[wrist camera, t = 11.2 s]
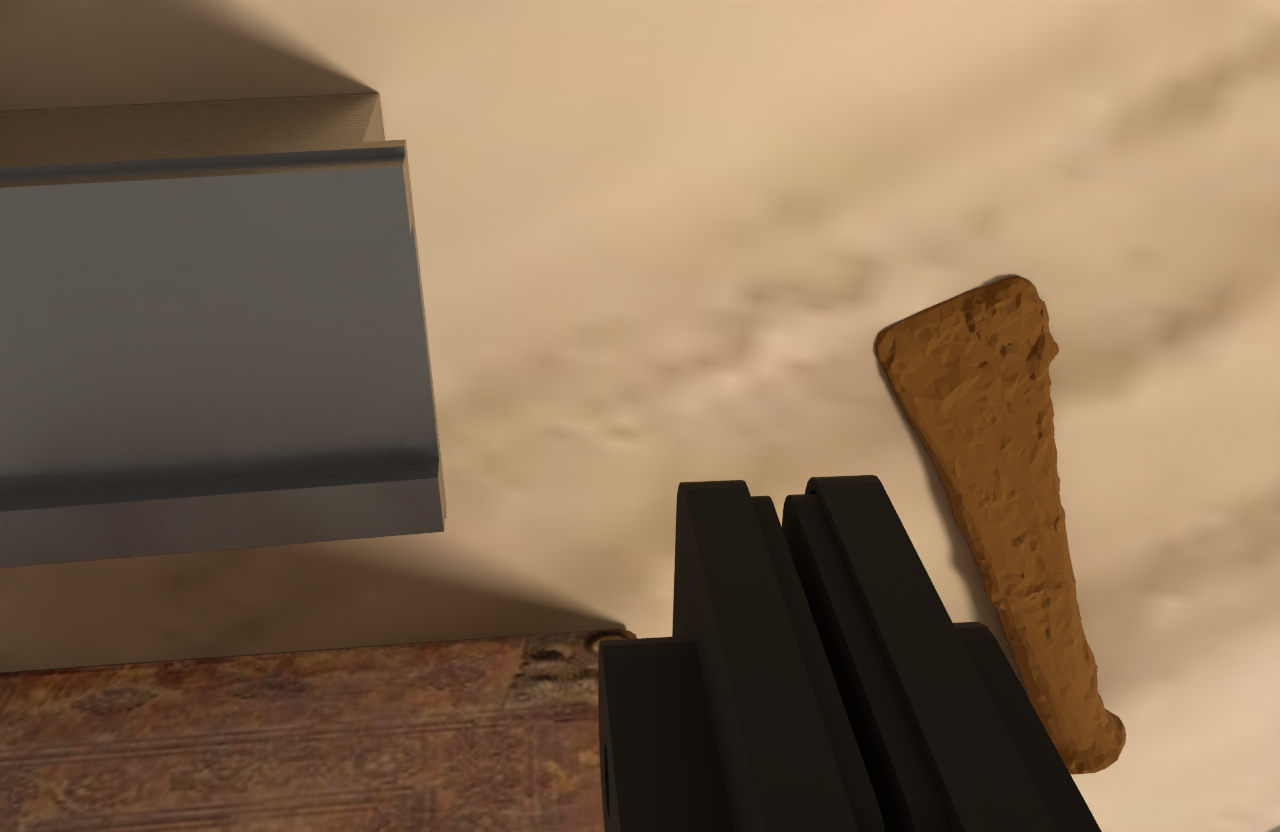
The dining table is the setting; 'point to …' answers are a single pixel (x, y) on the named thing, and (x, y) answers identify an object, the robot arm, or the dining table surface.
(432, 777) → the book
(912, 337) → the primitive tool
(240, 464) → the grey block holder
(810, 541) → the robot arm
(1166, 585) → the dining table surface
